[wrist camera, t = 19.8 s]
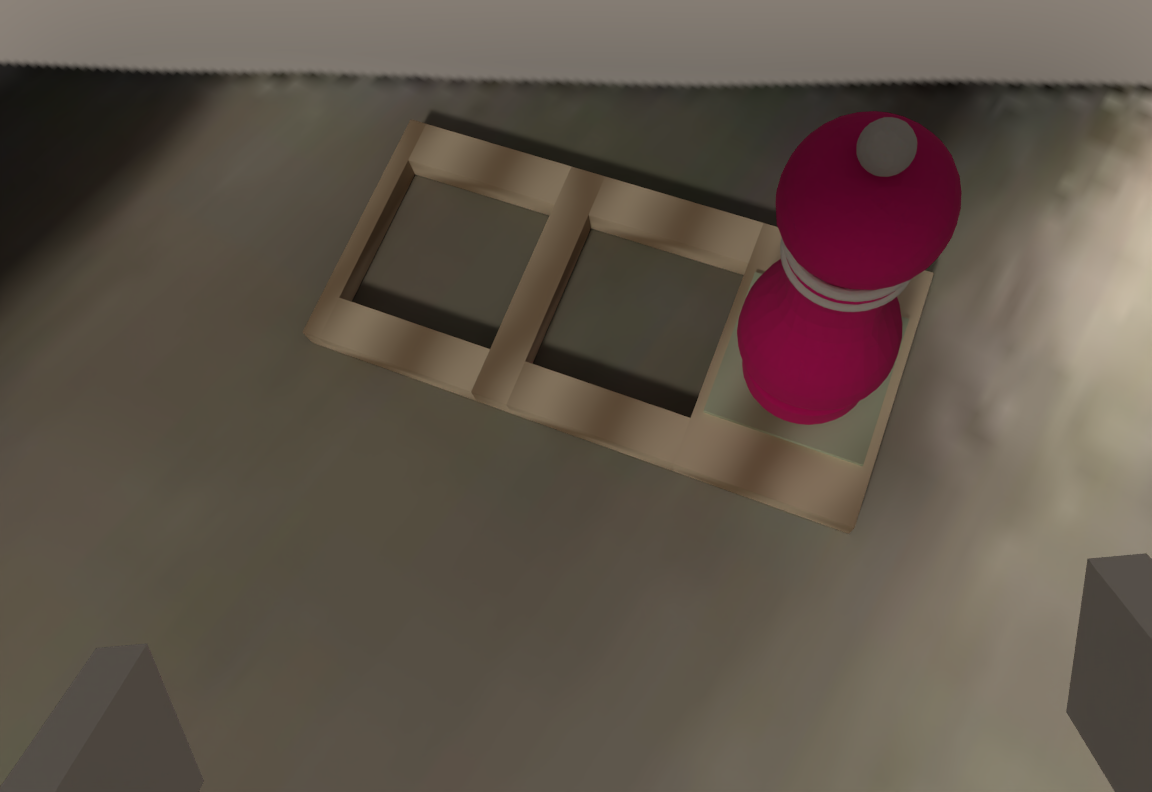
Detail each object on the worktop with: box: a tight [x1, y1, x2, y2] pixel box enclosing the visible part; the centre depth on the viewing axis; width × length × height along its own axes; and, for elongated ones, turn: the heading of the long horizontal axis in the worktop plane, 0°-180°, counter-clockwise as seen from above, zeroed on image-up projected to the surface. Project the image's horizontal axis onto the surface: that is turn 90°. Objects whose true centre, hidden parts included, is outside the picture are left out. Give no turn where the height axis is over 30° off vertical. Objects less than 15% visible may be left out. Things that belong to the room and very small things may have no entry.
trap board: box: [303, 120, 934, 534], centre depth 50 cm, size 30×14×2 cm, turn 68°
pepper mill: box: [737, 111, 961, 425], centre depth 37 cm, size 7×7×20 cm
